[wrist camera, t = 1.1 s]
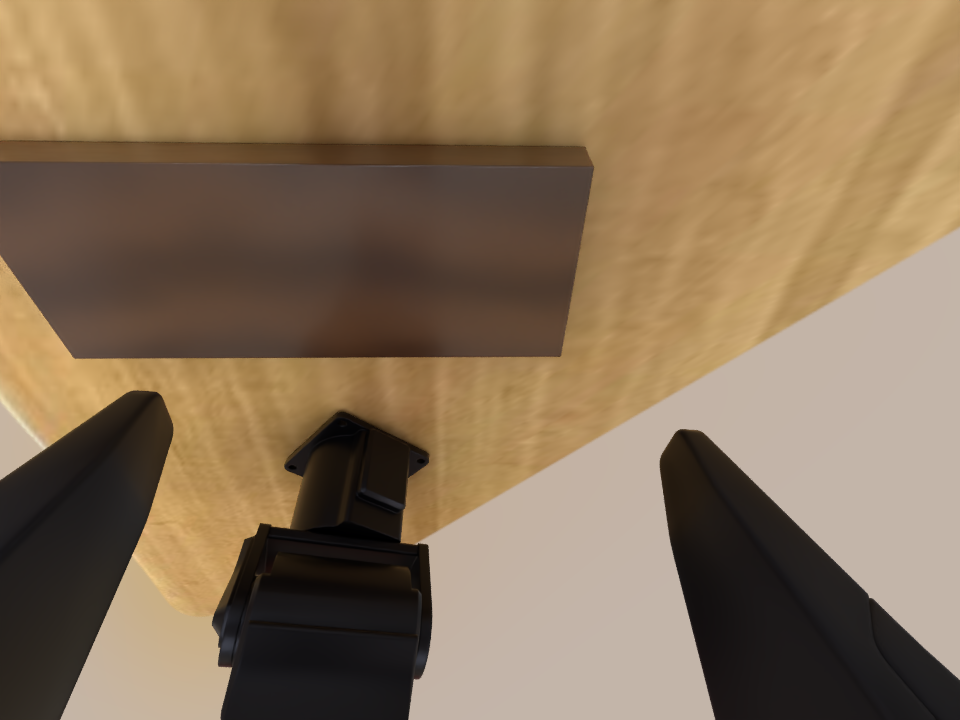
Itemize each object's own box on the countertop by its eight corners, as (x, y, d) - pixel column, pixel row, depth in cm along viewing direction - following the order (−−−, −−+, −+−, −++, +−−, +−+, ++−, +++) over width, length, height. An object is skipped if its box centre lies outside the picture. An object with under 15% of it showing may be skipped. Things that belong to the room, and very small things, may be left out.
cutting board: (555, 331, 25) (561, 357, 24) (94, 332, 25) (73, 359, 23) (585, 146, 19) (594, 166, 18) (-32, 140, 18) (-69, 160, 17)
